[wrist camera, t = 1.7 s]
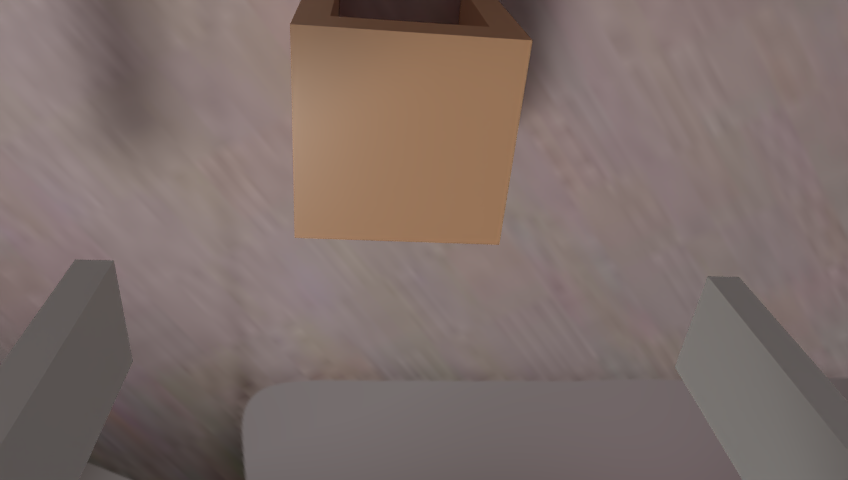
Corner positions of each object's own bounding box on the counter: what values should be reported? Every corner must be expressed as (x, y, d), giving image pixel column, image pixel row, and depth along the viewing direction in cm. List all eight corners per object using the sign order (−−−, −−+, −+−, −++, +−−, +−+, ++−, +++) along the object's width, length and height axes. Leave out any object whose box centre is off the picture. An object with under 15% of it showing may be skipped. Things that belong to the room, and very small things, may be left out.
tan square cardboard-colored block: (487, -12, 30) (532, 40, 22) (467, 149, 34) (499, 244, 26) (312, -25, 29) (290, 24, 21) (313, 142, 33) (294, 237, 25)
